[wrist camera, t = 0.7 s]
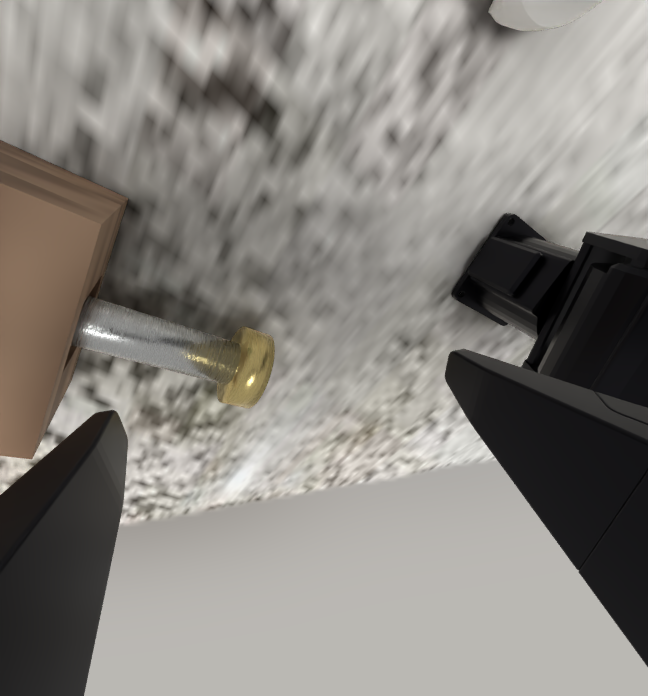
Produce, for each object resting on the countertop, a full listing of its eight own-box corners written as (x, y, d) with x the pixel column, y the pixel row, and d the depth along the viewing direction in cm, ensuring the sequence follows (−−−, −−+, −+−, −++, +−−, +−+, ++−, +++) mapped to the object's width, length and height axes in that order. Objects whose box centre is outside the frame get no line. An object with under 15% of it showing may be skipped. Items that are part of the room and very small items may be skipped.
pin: (266, 322, 22) (281, 359, 18) (237, 379, 23) (245, 424, 19) (-59, 204, 14) (-142, 227, 11) (-71, 297, 16) (-149, 344, 12)
